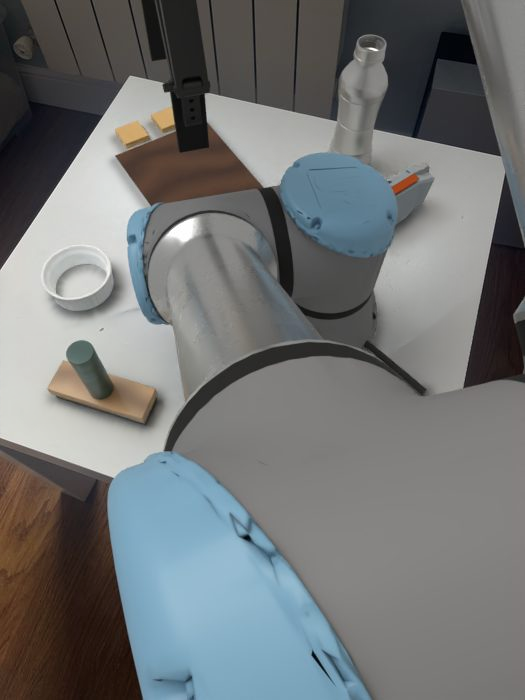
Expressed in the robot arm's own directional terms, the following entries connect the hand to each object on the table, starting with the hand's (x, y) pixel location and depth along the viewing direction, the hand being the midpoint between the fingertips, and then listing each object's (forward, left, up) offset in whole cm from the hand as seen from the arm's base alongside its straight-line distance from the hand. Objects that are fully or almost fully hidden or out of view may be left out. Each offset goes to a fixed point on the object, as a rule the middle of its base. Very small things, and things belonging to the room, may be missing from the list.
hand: (178, 99), depth 51 cm
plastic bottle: (+5, -29, -26) cm, 39 cm away
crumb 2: (+27, -10, -26) cm, 39 cm away
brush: (-11, +19, -26) cm, 34 cm away
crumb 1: (+27, -3, -26) cm, 38 cm away
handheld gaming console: (-7, -27, -26) cm, 38 cm away
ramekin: (+5, +15, -26) cm, 31 cm away
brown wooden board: (+14, -7, -26) cm, 30 cm away
